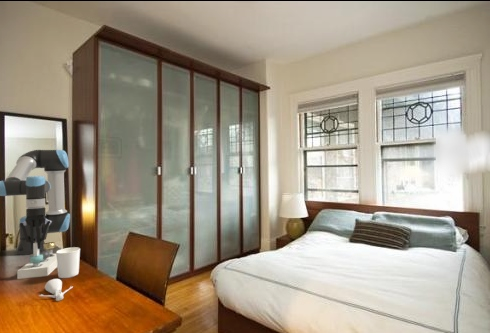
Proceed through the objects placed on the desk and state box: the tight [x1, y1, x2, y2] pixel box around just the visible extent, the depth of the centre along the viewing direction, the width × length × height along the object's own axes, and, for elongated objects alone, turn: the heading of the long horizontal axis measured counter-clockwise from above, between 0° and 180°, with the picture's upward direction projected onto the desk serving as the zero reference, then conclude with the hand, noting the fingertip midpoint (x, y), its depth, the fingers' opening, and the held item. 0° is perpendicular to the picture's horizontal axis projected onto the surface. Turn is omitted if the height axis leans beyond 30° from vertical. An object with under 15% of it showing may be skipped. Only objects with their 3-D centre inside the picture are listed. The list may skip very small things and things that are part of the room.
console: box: [16, 253, 57, 280], centre depth 142 cm, size 25×12×4 cm, turn 17°
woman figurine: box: [38, 278, 74, 302], centre depth 112 cm, size 12×4×18 cm
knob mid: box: [39, 250, 50, 262], centre depth 142 cm, size 5×5×7 cm
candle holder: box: [55, 246, 81, 279], centre depth 132 cm, size 10×10×12 cm
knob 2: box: [44, 241, 56, 256], centre depth 149 cm, size 5×5×7 cm
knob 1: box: [29, 254, 43, 267], centre depth 134 cm, size 5×5×7 cm
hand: (36, 255), depth 134 cm, fingers closed
